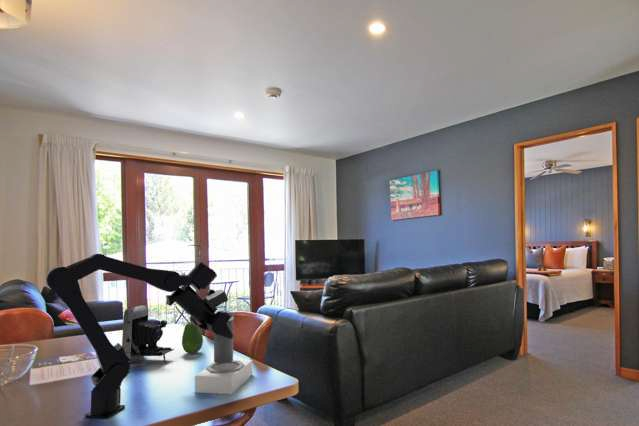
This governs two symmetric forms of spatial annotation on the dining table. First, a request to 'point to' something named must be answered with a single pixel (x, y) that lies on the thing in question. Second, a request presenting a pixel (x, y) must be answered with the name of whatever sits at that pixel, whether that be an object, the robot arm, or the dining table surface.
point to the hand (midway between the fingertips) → (227, 335)
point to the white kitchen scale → (223, 377)
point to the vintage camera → (141, 334)
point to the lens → (224, 345)
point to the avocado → (192, 338)
